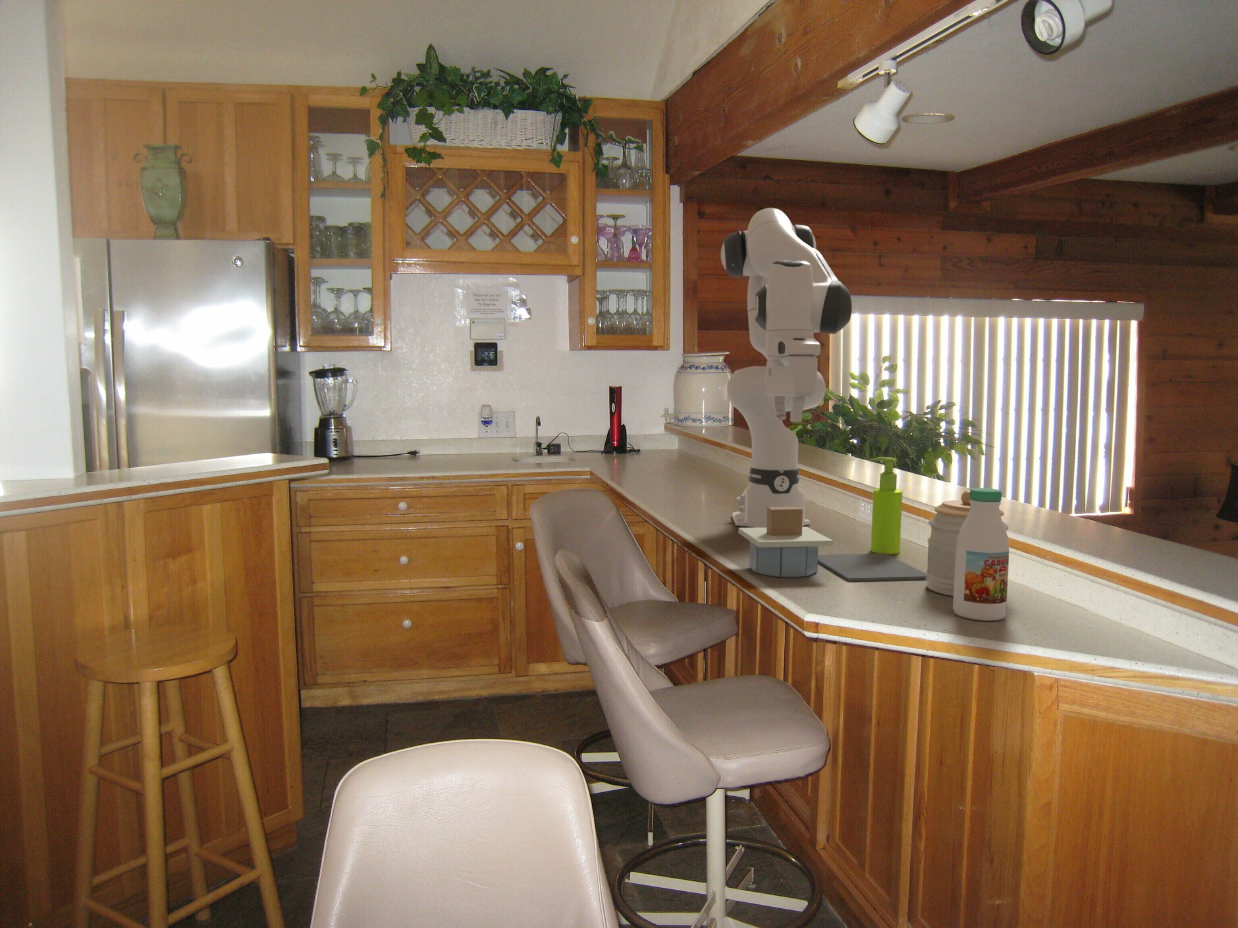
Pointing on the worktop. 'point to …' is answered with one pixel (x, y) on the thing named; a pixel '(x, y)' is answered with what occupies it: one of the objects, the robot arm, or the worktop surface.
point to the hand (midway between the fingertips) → (787, 421)
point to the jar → (946, 543)
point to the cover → (784, 530)
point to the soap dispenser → (886, 511)
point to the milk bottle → (982, 560)
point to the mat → (869, 567)
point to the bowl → (784, 560)
